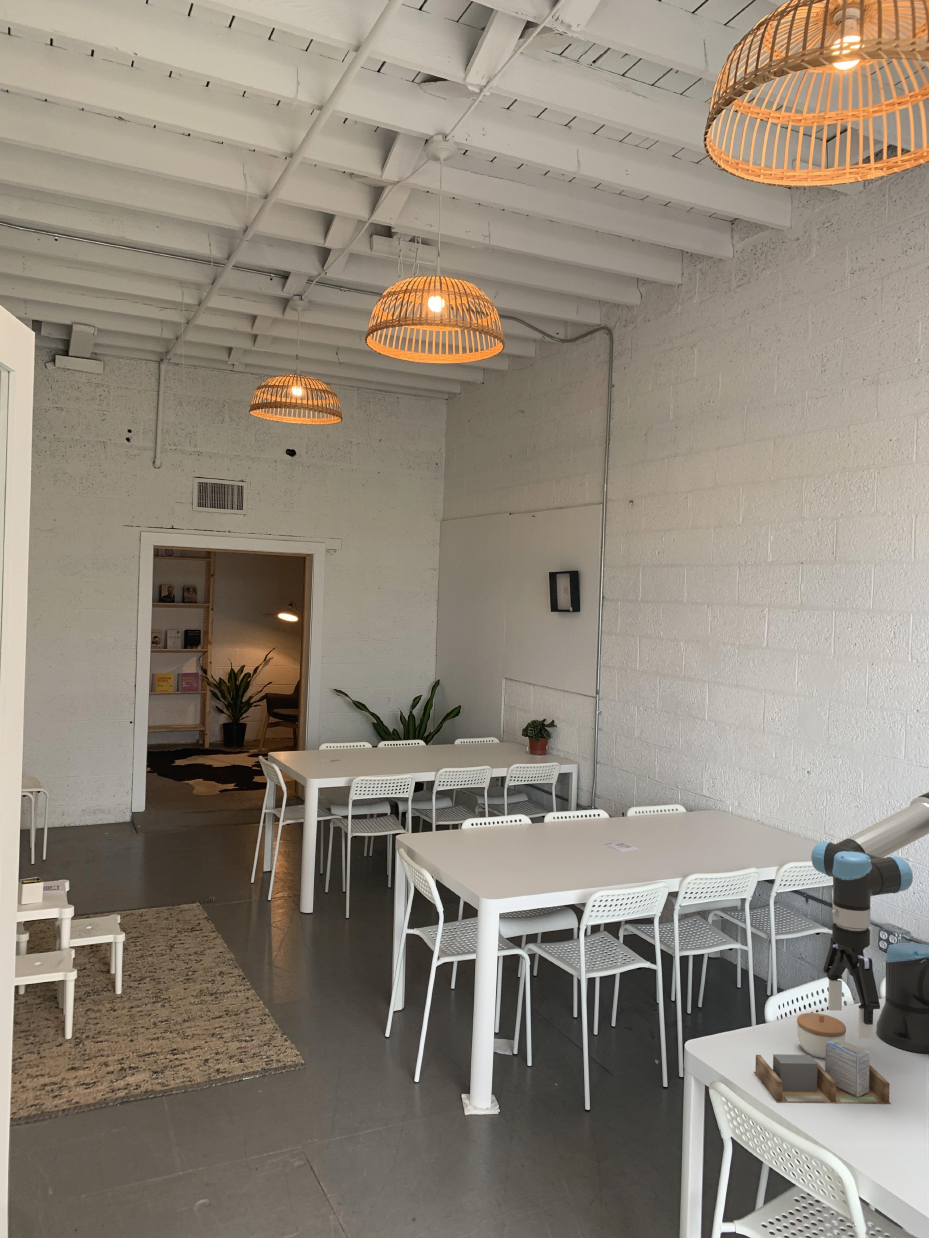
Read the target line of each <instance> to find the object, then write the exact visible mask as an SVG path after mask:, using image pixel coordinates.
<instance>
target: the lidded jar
mask: <svg viewBox="0 0 929 1238" xmlns="http://www.w3.org/2000/svg"><path fill="white" fill-rule="evenodd" d="M796 1023H797V1027H796V1029H797V1030H796V1031H797V1038H798V1042H799V1044H800V1046H801V1048H802V1050H804V1051H805V1052H806V1053H807V1055H810V1056H813V1057H816V1058H819V1059H825V1055H826V1043H827V1042H829V1041H832V1040H835V1039H839V1040H842V1041H844V1042H846V1041H845V1040H846V1032H847V1027H846V1024H845V1023H844V1022H843V1021H841V1020H839V1019H838V1018H835V1017H833V1016H830V1015H827V1014H822V1013H816V1012H807V1013H801V1014H799V1015H798V1016H797V1017H796Z"/></svg>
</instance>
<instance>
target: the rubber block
mask: <svg viewBox="0 0 929 1238" xmlns="http://www.w3.org/2000/svg"><path fill="white" fill-rule="evenodd" d="M772 1056H773V1057H772V1070H773V1071H774V1072H775V1073H776V1075H777V1076H778V1077H779V1078H780V1079H781V1081H782V1082H783V1086H782V1092H817V1063H818V1062H817V1061H816V1060H815V1058H814V1057H813V1058H814V1059H813V1058H812V1057H811V1056H812V1055H810V1054H786V1053H785V1054H781V1053H780V1054H777V1053H776V1054H773V1055H772ZM814 1060H815V1061H816V1062H817V1063H816V1062H815V1061H814Z"/></svg>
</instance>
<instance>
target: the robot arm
mask: <svg viewBox="0 0 929 1238" xmlns="http://www.w3.org/2000/svg"><path fill="white" fill-rule="evenodd" d="M927 835H929V791H928V792H925V793H924V794H921V795H919V796H917V797H915V798H913V799H912V801H911V802H910V804H909V806H907V807H905V808H903V809H901V810H900V811H897V812H895V813H893V814H892V815H889V816H888V817H886V818H884V819H882V820H880V821H878V822H876V823H874V824H873V825H871V826H868V827H866V828H864V829H863V830H861V831H859V832H856V833H855V834H853V835H851V836H848V837H847V838H845V839H843V840H840V841H839V842H837V843H834V842H831V841H829V842H828V841H820V842H818V843H817V844H816V845H815V846H814V848H813V849H812V851H811V855H810V859H811V864H812V866H813V868H814V870H816V871H817V872H818V873H822V874H823V875H825V876H828V877H829V878H832V910H830V911H831V914H832V921H833V924H832V925H831V926H832V927H831V928H832V932H831V933H832V934H831V938H830V941H829V942H830V943H829V944H830V945H829V948H828V952H827V956H826V958H825V960H824V961H825V963H824V965H823V973H824V974H826V977H827V979H828V1010H829V1011H830V1012H831V1011H842V1010H843V1009H842V1008H843V1005H842V1003H843V1002H842V1001H843V999H842V997H843V981H842V980H843V974H844V973H845V971H846V969H847V970H848V973H849V975H850V976H851V977H852V979H853V981H854V985H855V988H856V993H857V996H858V998H859V999H858V1000H859V1002H860V1005H858V1006H857V1007H858V1039H861V1040H862V1039H863V1040H864V1039H866V1040H868V1039H869V1040H870V1039H871V1040H873V1038H874V1010H881V1012H880V1015H879V1018H878V1020H877V1021H876V1035H877V1036H878V1038H880V1039H881V1040H882V1041H883V1042H885V1043H887V1044H888V1045H891V1046H893V1047H896V1048H898V1049H901V1050H903V1051H904V1050H905V1051H909V1052H913V1053H918V1054H919V1053H920V1054H929V944H924V943H917V942H897V943H893V944H891V945H889V946H888V947H887V949H886V950H887V951H886V959H885V991H884V993H885V997H884V999H885V1000H884V1004H883V1007H882V1009H881V1003H880V998H879V994H878V989H877V985H876V984H877V983H876V981H875V976H874V968H873V967H874V966H873V958H871V957H865V953H864V950H865V949H866V948H869V946H870V945H871V930H870V928H869V927H871V910H872V909H871V898H872V897H873V896H874V897H875V896H880V895H881V896H882V895H887V894H897V893H899V892H903V891H904V892H905V891H906V890H908V889H910V887H912V883H913V878H914V875H913V874H914V873H913V870H912V867H911V866H910V864H909V863H908V862H907V861H906V860H904V859H903V858H901V857H898V856H890V855H891V854H893V853H895V852H896V851H897V852H898V850H901V849H902V848H904V847H906V846H908V845H909V844H912V843H914V842H916V841H918V840H919V839H921V838H923V837H925V836H927Z"/></svg>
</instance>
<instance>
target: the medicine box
mask: <svg viewBox="0 0 929 1238" xmlns="http://www.w3.org/2000/svg"><path fill="white" fill-rule="evenodd" d="M824 1059H825V1061H824V1063H825V1064H824V1067H825V1069H824V1070H825V1071H826V1072H827V1073H828V1074H829V1076H830V1077H831V1078H832V1079H833V1080H834V1081H835V1082H836V1087H838V1088H840V1089H842V1090H844V1091H846V1092H848V1093H850V1094H852V1095H854V1096H856V1097H859V1096H861V1095H863V1094H865V1093H868V1092H869V1064H870V1052H869V1051H867V1050H865V1049H862V1048H860V1047H857V1046H856V1045H853V1044H851V1043H849V1042H846V1041H845V1042H844V1041H842V1040H839V1039H835V1040H832V1041H829V1042H827V1043H826V1055H825V1058H824Z"/></svg>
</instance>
